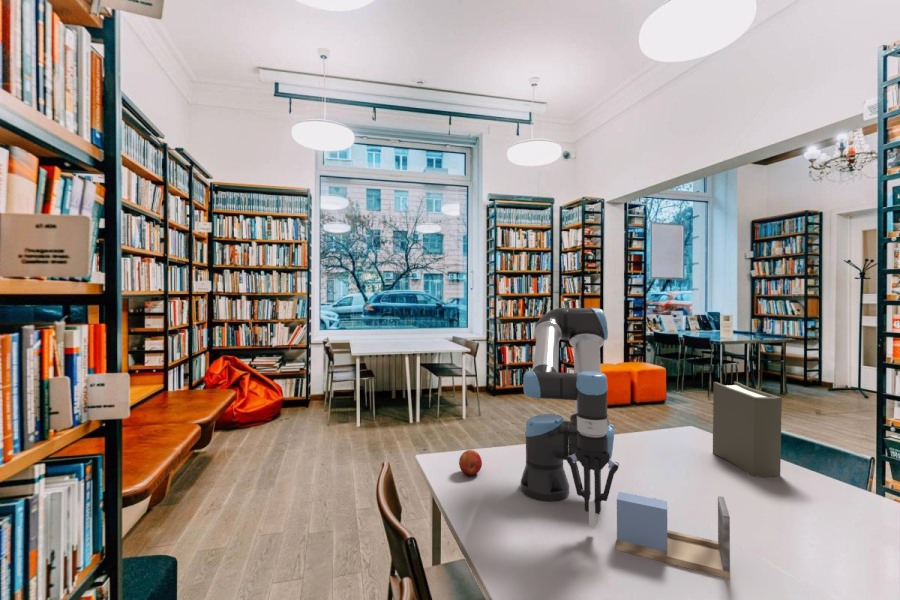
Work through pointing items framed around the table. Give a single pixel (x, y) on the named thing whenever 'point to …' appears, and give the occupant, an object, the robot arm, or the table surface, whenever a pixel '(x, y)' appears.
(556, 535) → the table surface
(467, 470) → the apple
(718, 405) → the book
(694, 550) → the shelf
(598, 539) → the table surface
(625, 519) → the slim book
